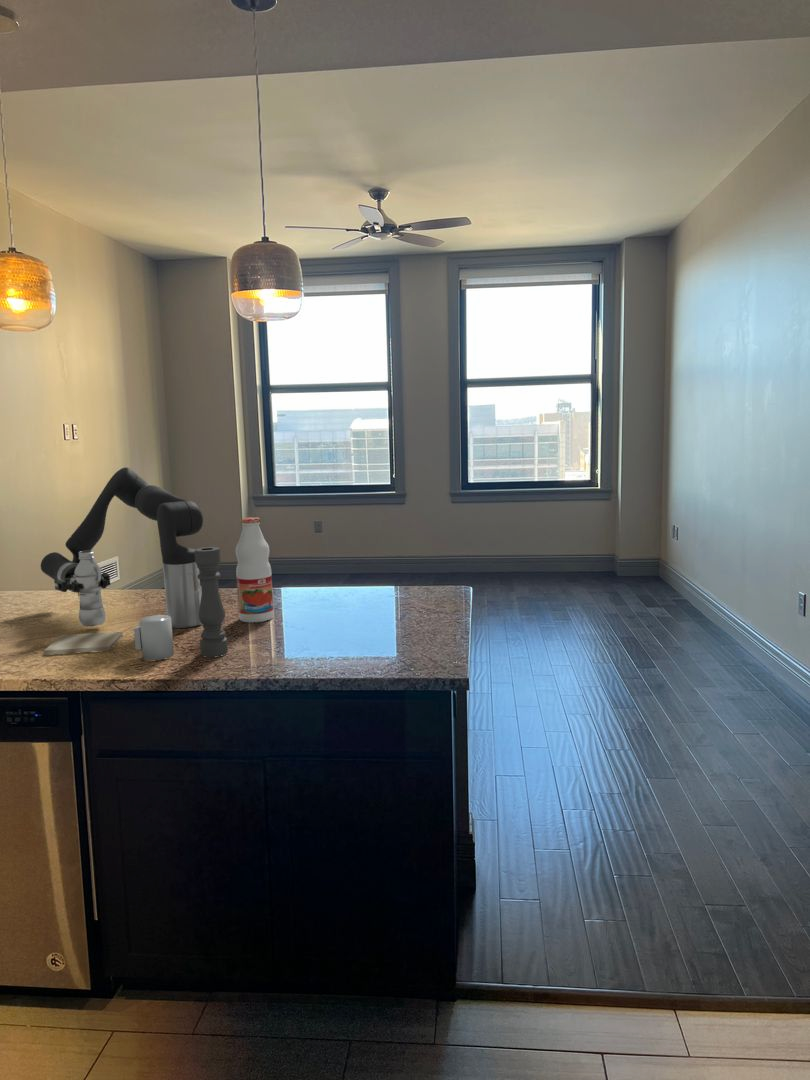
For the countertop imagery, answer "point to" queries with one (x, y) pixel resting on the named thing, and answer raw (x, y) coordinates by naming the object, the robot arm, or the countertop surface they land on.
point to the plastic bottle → (89, 590)
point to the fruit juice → (253, 574)
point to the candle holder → (210, 603)
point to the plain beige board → (83, 643)
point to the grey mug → (154, 637)
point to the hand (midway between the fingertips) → (91, 586)
